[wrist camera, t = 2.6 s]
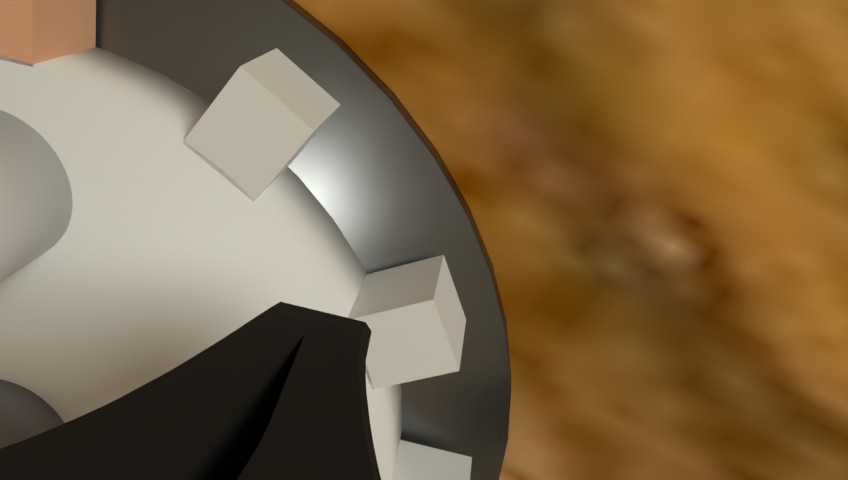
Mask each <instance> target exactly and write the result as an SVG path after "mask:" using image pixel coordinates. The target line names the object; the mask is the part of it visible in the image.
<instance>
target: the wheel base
mask: <svg viewBox="0 0 848 480" xmlns="http://www.w3.org/2000/svg"><path fill="white" fill-rule="evenodd" d="M95 47H97V48H100V49H104V50H107V51H110V52H113V53H115V54H117V55H119V56H122V57H124V58H126V59H129V60H131V61H133V62H135V63H138V64H140V65H142V66H144V67H147V68H149V69H151V70H154V71H156V72H158V73H160V74H163V75H164V76H166V77H168V78H170V79H171V80H173V81H175V82H176V83H178V84H180V85H181V86H183V87H185V88H187V89H188V90H190V91H192V92H193V93H195V94H197V95H198V96H200V97H202V98H203V99H205V100H207V101H209V102H210V103H213V101H214V100H215V99H216V97H217V96H218V95H219V93H220V92H221V91H222V89H223V88H224V87H225V85H226V84H227V83H228V81H229V80H230V79H231V77H232V76H233V75H234V73H235V72H236V71H237V70H238V68H239V67H240V66H241V65H243V64H245V63H247V62H249V61H251V60H254V59H256V58H258V57H260V56H262V55H264V54H266V53H268V52H270V51H272V50H274V49H276V48H277V49H278V50H280V51H281V52H282V53H283V54H284V55H285V56H286V57H288V58H289V59H290V60H291V61H292V62H293V63H294V64H295V65H297V66H298V67H299V68H300V69H301V70H302V71H303V72H304V73H306V74H307V75H308V76H309V77H310V78H311V79H312V80H313V81H315V82H316V83H317V84H318V85H319V86H320V87H321V88H322V89H324V90H325V91H326V92H327V93H328V94H329V95H330V96H331V97H333V98H334V99H335V100H336V101H337V102H338V103H339V104H340V106H339V107H338V108H337V109H336V111H335V112H334V113H333V114H332V115H331V116H330V118H329V119H328V120H327V121H326V122H325V124H324V125H323V126H322V127H321V128H320V129H319V131H318V132H317V133H316V134H315V135H314V136H313V138H312V139H311V140H310V141H309V142H308V144H307V145H306V146H305V147H304V148H303V149H302V151H301V152H300V153H299V154H298V155H297V156H296V158H295V159H294V160H293V161H292V162H291V164H290V165H289V166H288V167H289V168H290V169H291V170H292V171H293V172H294V173H295V174H296V175H297V176H298V177H299V178H300V179H301V180H302V182H303V183H304V184H305V185H306V187H307V188H308V189H309V190H310V191H311V193H312V194H313V195H314V196H315V197H316V199H317V200H318V201H319V202H320V204H321V205H322V206H323V207H324V208H325V210H326V211H327V212H328V213H329V214H330V216H331V217H332V218H333V219H334V221H335V223H336V224H337V226H338V227H339V229H340V230H341V232H342V234H343V235H344V237H345V238H346V240H347V241H348V243H349V245H350V246H351V248H352V249H353V251H354V252H355V254H356V255H357V257H358V259H359V260H360V262H361V264H362V266H363V268H364V270H365V272H366V274H370V273H374V272H378V271H382V270H386V269H389V268H393V267H397V266H401V265H405V264H409V263H413V262H417V261H421V260H425V259H429V258H433V257H437V256H441V255H444V257H445V260H446V263H447V266H448V269H449V272H450V274H451V277H452V280H453V283H454V286H455V289H456V292H457V295H458V297H459V300H460V303H461V306H462V309H463V312H464V315H465V318H466V324H465V332H464V339H463V347H462V354H461V362H460V369H459V371H457V372H452V373H448V374H443V375H438V376H434V377H429V378H424V379H420V380H415V381H410V382H406V383H401V393H402V431H401V438H400V440H403V441H408V442H412V443H416V444H420V445H424V446H428V447H432V448H436V449H440V450H444V451H448V452H452V453H457V454H461V455H465V456H469V457H472V463H471V474H470V480H499V476H500V472H501V468H502V463H503V459H504V454H505V450H506V446H507V441H508V427H509V412H510V396H511V368H510V357H509V346H508V336H507V325H506V318H505V314H504V310H503V306H502V302H501V298H500V294H499V290H498V286H497V282H496V278H495V274H494V270H493V266H492V263H491V260H490V258H489V255H488V253H487V250H486V248H485V245H484V243H483V240H482V238H481V235H480V233H479V230H478V228H477V225H476V223H475V220H474V218H473V216H472V213H471V211H470V208H469V206H468V204H467V202H466V201H465V199H464V197H463V195H462V194H461V192H460V190H459V188H458V187H457V185H456V183H455V181H454V180H453V178H452V176H451V174H450V173H449V171H448V169H447V167H446V166H445V164H444V162H443V160H442V158H441V157H440V155H439V153H438V151H437V150H436V148H435V147H434V146H433V144H432V143H431V142H430V140H429V139H428V138H427V136H426V135H425V134H424V132H423V131H422V130H421V128H420V127H419V126H418V124H417V123H416V122H415V120H414V119H413V118H412V116H411V115H410V114H409V112H408V111H407V110H406V108H405V107H404V106H403V104H402V103H401V102H400V100H399V99H398V98H397V96H396V95H395V94H394V93H393V92H392V91H391V89H390V88H389V87H388V86H387V85H386V84H385V83H384V82H383V81H382V80H381V79H380V78H379V77H378V76H377V75H376V74H375V73H374V72H373V71H372V70H371V69H370V68H369V67H368V66H367V65H366V64H365V63H364V62H363V61H362V60H361V59H360V58H359V57H358V56H357V55H356V53H355V52H354V51H353V50H352V49H351V48H350V47H349V46H348V45H347V44H346V43H345V42H344V41H343V40H342V39H341V38H339V37H338V36H337V35H336V34H334V33H333V32H332V31H331V30H329V29H328V28H327V27H326V26H324V25H323V24H322V23H321V22H319V21H318V20H317V19H316V18H314V17H313V16H312V15H311V14H309V13H308V12H307V11H306V10H304V9H303V8H302V7H301V6H299V5H298V4H297V3H296V2H294V1H293V0H96V46H95Z"/></svg>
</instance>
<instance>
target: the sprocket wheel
mask: <svg viewBox="0 0 848 480" xmlns="http://www.w3.org/2000/svg"><path fill="white" fill-rule="evenodd" d="M95 46H96V0H0V449H1V448H3V447H6V446H9V445H12V444H15V443H18V442H20V441H23V440H25V439H28V438H31V437H33V436H36V435H38V434H41V433H43V432H45V431H48V430H50V429H52V428H55V427H57V426H59V425H62V424H64V423H66V422H69V421H71V420H73V419H76V418H78V417H80V416H83V415H85V414H87V413H89V412H91V411H93V410H96V409H98V408H100V407H102V406H104V405H106V404H108V403H110V402H112V401H114V400H116V399H118V398H120V397H122V396H124V395H126V394H128V393H130V392H132V391H133V390H135V389H137V388H139V387H141V386H143V385H145V384H146V383H148V382H150V381H152V380H154V379H156V378H158V377H159V376H161V375H163V374H165V373H167V372H168V371H170V370H172V369H174V368H175V367H177V366H179V365H180V364H182V363H184V362H185V361H187V360H189V359H190V358H192V357H194V356H195V355H197V354H198V353H200V352H202V351H203V350H205V349H207V348H208V347H210V346H212V345H213V344H215V343H216V342H218V341H220V340H221V339H223V338H224V337H226V336H227V335H229V334H230V333H232V332H234V331H235V330H237V329H238V328H240V327H241V326H243V325H244V324H246V323H247V322H249V321H250V320H252V319H253V318H255V317H256V316H258V315H259V314H261V313H263V312H264V311H266V310H267V309H269V308H270V307H272V306H274V305H276V304H277V303H279V302H284V303H288V304H293V305H297V306H301V307H305V308H309V309H313V310H317V311H322V312H326V313H330V314H334V315H338V316H342V317H347V318H351V319H355V320H359V321H363V322H366V324H367V325H368V327H369V328H370V330H371V331H372V332H371V337H370V342H369V347H368V352H367V357H366V392H367V401H368V410H369V418H370V426H371V432H372V438H373V444H374V449H375V454H376V459H377V463H378V468H379V473H380V477H381V480H470V474H471V463H472V457H469V456H465V455H461V454H457V453H452V452H448V451H444V450H440V449H436V448H432V447H428V446H424V445H420V444H416V443H412V442H408V441H403V440H400V438H401V431H402V393H401V383H406V382H410V381H415V380H420V379H424V378H429V377H434V376H438V375H443V374H448V373H452V372H457V371H459V369H460V362H461V354H462V347H463V339H464V332H465V324H466V318H465V315H464V312H463V309H462V306H461V303H460V300H459V297H458V295H457V292H456V289H455V286H454V283H453V280H452V277H451V274H450V272H449V269H448V266H447V263H446V260H445V257H444V255H441V256H437V257H433V258H429V259H425V260H421V261H417V262H413V263H409V264H405V265H401V266H397V267H393V268H389V269H386V270H382V271H378V272H374V273H370V274H366V272H365V270H364V268H363V266H362V264H361V262H360V260H359V259H358V257H357V255H356V254H355V252H354V251H353V249H352V248H351V246H350V245H349V243H348V241H347V240H346V238H345V237H344V235H343V234H342V232H341V230H340V229H339V227H338V226H337V224H336V223H335V221H334V219H333V218H332V217H331V216H330V214H329V213H328V212H327V211H326V210H325V208H324V207H323V206H322V205H321V204H320V202H319V201H318V200H317V199H316V197H315V196H314V195H313V194H312V193H311V191H310V190H309V189H308V188H307V187H306V185H305V184H304V183H303V182H302V180H301V179H300V178H299V177H298V176H297V175H296V174H295V173H294V172H293V171H292V170H291V169H290V168H289V167H288V166H289V165H290V164H291V162H292V161H293V160H294V159H295V158H296V156H297V155H298V154H299V153H300V152H301V151H302V149H303V148H304V147H305V146H306V145H307V144H308V142H309V141H310V140H311V139H312V138H313V136H314V135H315V134H316V133H317V132H318V131H319V129H320V128H321V127H322V126H323V125H324V124H325V122H326V121H327V120H328V119H329V118H330V116H331V115H332V114H333V113H334V112H335V111H336V109H337V108H338V107H339V106H340V104H339V103H338V102H337V101H336V100H335V99H334V98H333V97H331V96H330V95H329V94H328V93H327V92H326V91H325V90H324V89H322V88H321V87H320V86H319V85H318V84H317V83H316V82H315V81H313V80H312V79H311V78H310V77H309V76H308V75H307V74H306V73H304V72H303V71H302V70H301V69H300V68H299V67H298V66H297V65H295V64H294V63H293V62H292V61H291V60H290V59H289V58H288V57H286V56H285V55H284V54H283V53H282V52H281V51H280V50H278V49H277V48H276V49H274V50H272V51H270V52H268V53H266V54H264V55H262V56H260V57H258V58H256V59H254V60H251V61H249V62H247V63H245V64H243V65H241V66H240V67H239V68H238V70H237V71H236V72H235V73H234V75H233V76H232V77H231V79H230V80H229V81H228V83H227V84H226V85H225V87H224V88H223V89H222V91H221V92H220V93H219V95H218V96H217V97H216V99H215V100H214V101H213V103H210V102H209V101H207V100H205V99H203V98H202V97H200V96H198V95H197V94H195V93H193V92H192V91H190V90H188V89H187V88H185V87H183V86H181V85H180V84H178V83H176V82H175V81H173V80H171V79H170V78H168V77H166V76H164V75H163V74H160V73H158V72H156V71H154V70H151V69H149V68H147V67H144V66H142V65H140V64H138V63H135V62H133V61H131V60H129V59H126V58H124V57H122V56H119V55H117V54H115V53H113V52H110V51H107V50H104V49H100V48H97V47H95Z"/></svg>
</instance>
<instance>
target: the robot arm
mask: <svg viewBox="0 0 848 480" xmlns="http://www.w3.org/2000/svg"><path fill="white" fill-rule="evenodd" d="M371 332H372V331H371V330H370V328H369V327H368V325H367V324H366V322H363V321H359V320H355V319H351V318H347V317H342V316H338V315H334V314H330V313H326V312H322V311H317V310H313V309H309V308H305V307H301V306H297V305H293V304H288V303H284V302H279V303H277V304H276V305H274V306H272V307H270V308H269V309H267V310H266V311H264V312H263V313H261V314H259V315H258V316H256V317H255V318H253V319H252V320H250V321H249V322H247V323H246V324H244V325H243V326H241V327H240V328H238V329H237V330H235V331H234V332H232V333H230V334H229V335H227V336H226V337H224V338H223V339H221V340H220V341H218V342H216V343H215V344H213V345H212V346H210V347H208V348H207V349H205V350H203V351H202V352H200V353H198V354H197V355H195V356H194V357H192V358H190V359H189V360H187V361H185V362H184V363H182V364H180V365H179V366H177V367H175V368H174V369H172V370H170V371H168V372H167V373H165V374H163V375H161V376H159V377H158V378H156V379H154V380H152V381H150V382H148V383H146V384H145V385H143V386H141V387H139V388H137V389H135V390H133V391H132V392H130V393H128V394H126V395H124V396H122V397H120V398H118V399H116V400H114V401H112V402H110V403H108V404H106V405H104V406H102V407H100V408H98V409H96V410H93V411H91V412H89V413H87V414H85V415H83V416H80V417H78V418H76V419H73V420H71V421H69V422H66V423H64V424H62V425H59V426H57V427H55V428H52V429H50V430H48V431H45V432H43V433H41V434H38V435H36V436H33V437H31V438H28V439H25V440H23V441H20V442H18V443H15V444H12V445H9V446H6V447H3V448H1V449H0V480H381V477H380V473H379V468H378V463H377V459H376V454H375V449H374V444H373V438H372V432H371V426H370V418H369V410H368V401H367V392H366V357H367V352H368V347H369V342H370V337H371Z"/></svg>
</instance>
